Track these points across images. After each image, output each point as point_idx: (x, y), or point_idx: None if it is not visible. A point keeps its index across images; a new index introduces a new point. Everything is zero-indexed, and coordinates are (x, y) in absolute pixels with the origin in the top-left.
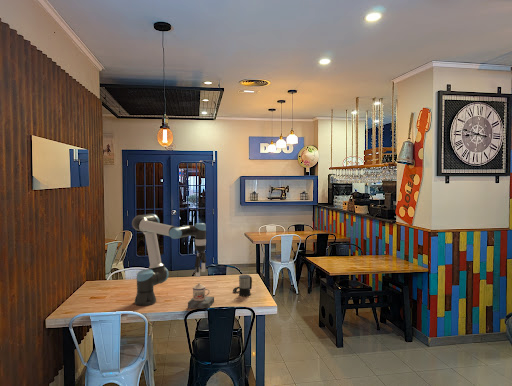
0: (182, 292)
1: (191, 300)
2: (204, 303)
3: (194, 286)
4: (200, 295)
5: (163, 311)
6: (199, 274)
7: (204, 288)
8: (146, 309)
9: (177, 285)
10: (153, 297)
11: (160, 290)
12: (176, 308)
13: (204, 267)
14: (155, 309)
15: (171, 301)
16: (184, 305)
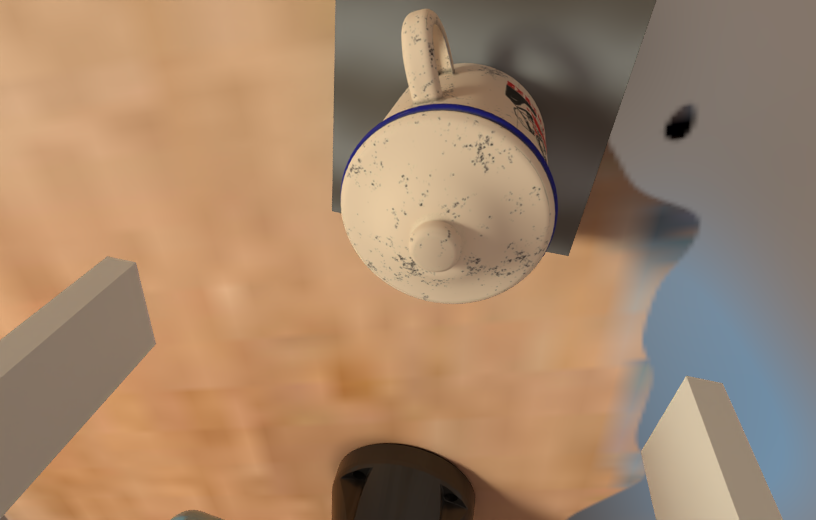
0: None
1: None
2: (640, 45)
3: (448, 291)
4: (543, 143)
5: (617, 394)
6: (751, 451)
7: (493, 116)
8: (548, 480)
9: None
10: (414, 493)
11: (149, 430)
12: (556, 315)
13: (28, 373)
14: (557, 438)
15: (370, 360)
16: None
